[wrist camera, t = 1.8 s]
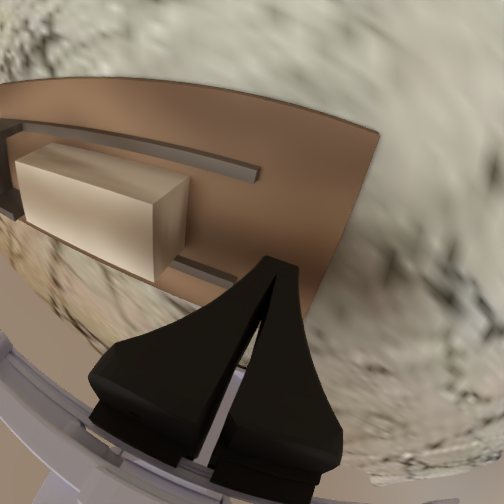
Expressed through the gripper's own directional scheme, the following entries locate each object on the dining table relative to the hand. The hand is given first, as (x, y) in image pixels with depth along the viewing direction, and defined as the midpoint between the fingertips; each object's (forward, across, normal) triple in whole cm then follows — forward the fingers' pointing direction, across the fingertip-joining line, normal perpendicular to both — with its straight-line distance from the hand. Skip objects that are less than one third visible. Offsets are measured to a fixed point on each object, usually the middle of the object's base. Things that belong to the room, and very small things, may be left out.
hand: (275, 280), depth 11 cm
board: (+3, +11, 0) cm, 11 cm away
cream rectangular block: (+2, +10, 0) cm, 10 cm away
